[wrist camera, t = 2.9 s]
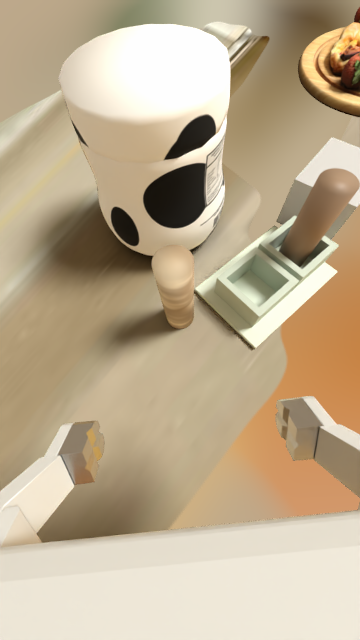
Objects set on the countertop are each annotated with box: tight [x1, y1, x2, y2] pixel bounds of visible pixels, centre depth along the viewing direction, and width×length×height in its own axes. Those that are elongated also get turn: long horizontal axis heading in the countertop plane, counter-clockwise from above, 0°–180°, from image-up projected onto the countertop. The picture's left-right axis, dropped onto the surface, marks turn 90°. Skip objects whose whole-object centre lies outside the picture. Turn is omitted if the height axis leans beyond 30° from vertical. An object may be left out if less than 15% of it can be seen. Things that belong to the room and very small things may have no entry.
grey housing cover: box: [277, 137, 360, 240], centre depth 33 cm, size 10×8×7 cm
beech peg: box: [152, 245, 194, 329], centre depth 25 cm, size 4×4×12 cm
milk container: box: [58, 24, 230, 256], centre depth 28 cm, size 17×17×18 cm
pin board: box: [195, 168, 360, 349], centre depth 26 cm, size 16×11×13 cm
